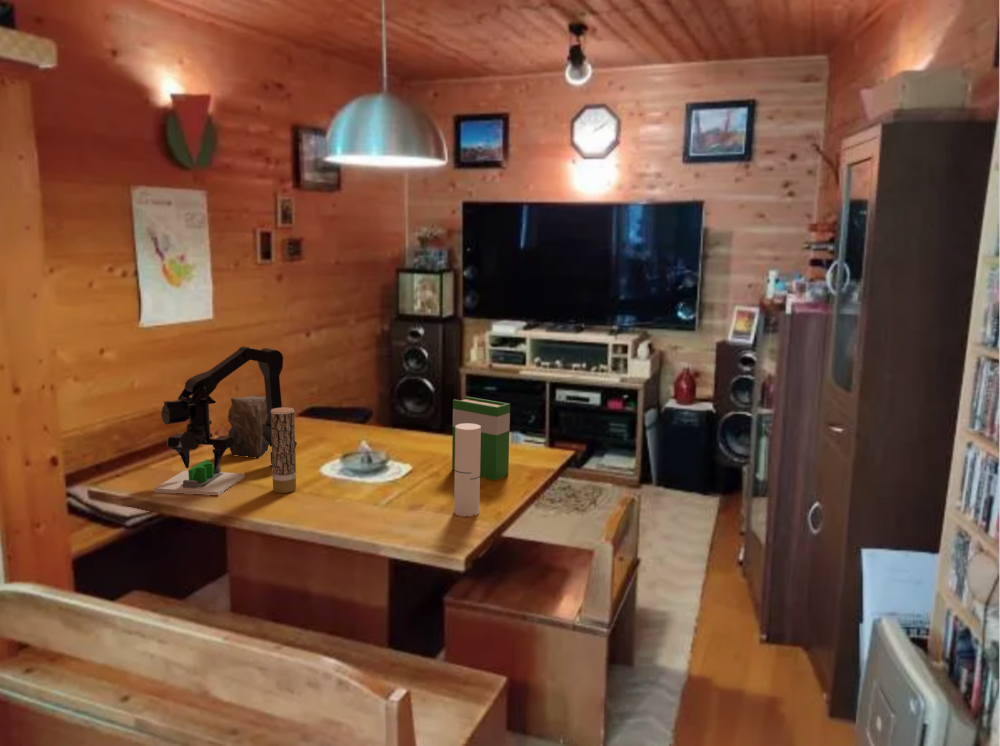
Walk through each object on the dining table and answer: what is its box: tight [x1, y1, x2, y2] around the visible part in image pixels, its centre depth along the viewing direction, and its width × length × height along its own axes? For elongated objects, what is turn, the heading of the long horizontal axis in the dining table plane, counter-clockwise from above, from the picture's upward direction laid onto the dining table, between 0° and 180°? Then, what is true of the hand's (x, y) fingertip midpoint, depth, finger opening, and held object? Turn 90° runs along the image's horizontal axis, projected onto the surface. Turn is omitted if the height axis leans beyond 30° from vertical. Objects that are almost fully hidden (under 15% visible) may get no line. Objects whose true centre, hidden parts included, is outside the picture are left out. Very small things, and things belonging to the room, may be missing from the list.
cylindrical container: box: [453, 423, 481, 517], centre depth 213 cm, size 7×7×25 cm
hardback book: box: [451, 396, 511, 481], centre depth 250 cm, size 18×7×24 cm, turn 56°
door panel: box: [153, 465, 246, 496], centre depth 233 cm, size 20×18×3 cm
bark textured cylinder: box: [271, 406, 297, 494], centre depth 228 cm, size 7×7×25 cm
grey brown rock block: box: [227, 394, 270, 459], centre depth 267 cm, size 13×13×20 cm
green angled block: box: [187, 459, 214, 482], centre depth 234 cm, size 11×4×5 cm, turn 174°
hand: (201, 468), depth 234 cm, fingers open, 9 cm apart
